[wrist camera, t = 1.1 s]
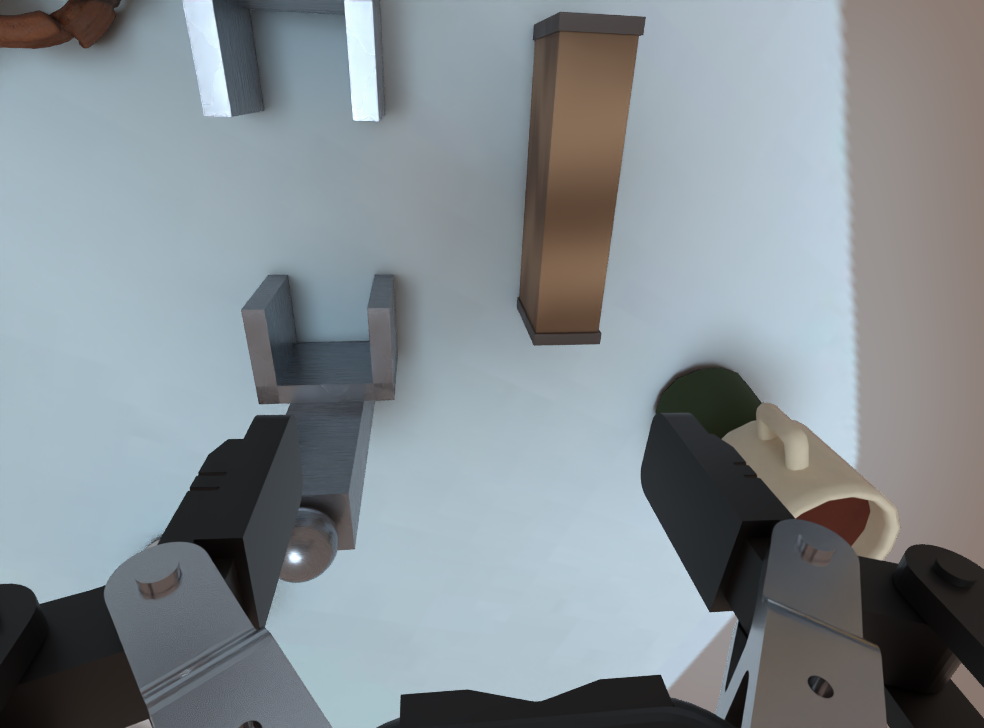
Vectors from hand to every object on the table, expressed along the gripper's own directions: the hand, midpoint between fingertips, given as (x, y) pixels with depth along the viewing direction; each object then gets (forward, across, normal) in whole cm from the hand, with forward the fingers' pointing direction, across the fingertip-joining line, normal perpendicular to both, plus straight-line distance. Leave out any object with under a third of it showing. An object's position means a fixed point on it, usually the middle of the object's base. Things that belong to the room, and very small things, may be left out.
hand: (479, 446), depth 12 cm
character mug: (+20, -17, +10) cm, 28 cm away
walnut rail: (+19, -6, -3) cm, 20 cm away
